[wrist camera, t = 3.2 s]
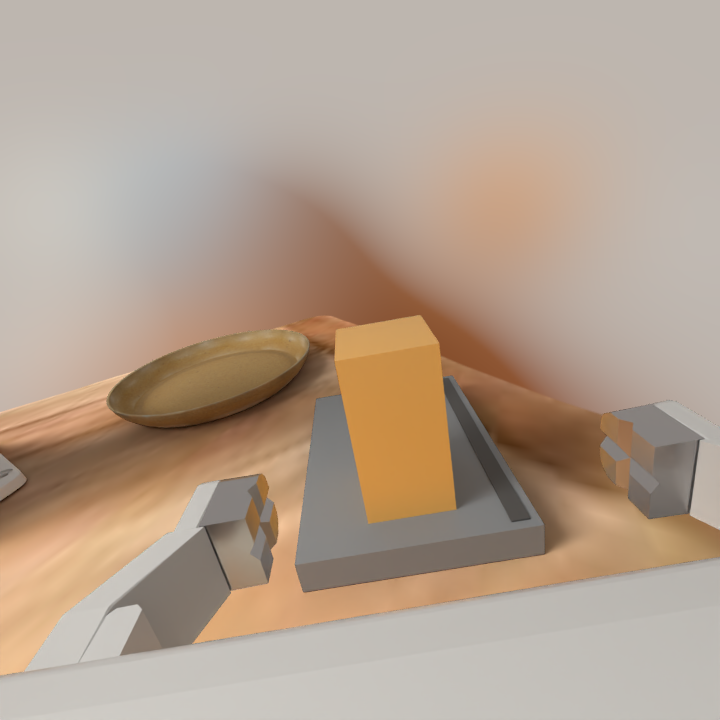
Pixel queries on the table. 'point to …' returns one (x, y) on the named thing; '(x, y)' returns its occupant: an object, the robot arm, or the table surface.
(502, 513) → the plate
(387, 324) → the tall orange brick
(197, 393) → the plant saucer
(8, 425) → the table surface
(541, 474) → the table surface
